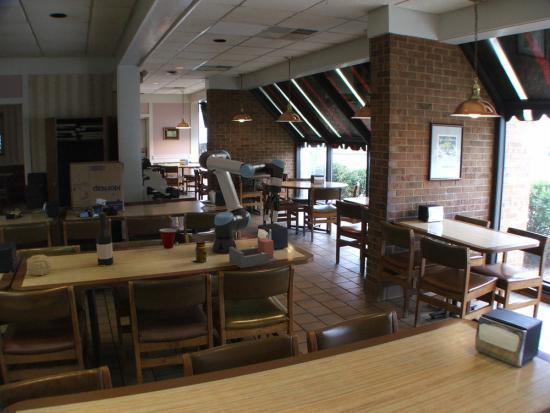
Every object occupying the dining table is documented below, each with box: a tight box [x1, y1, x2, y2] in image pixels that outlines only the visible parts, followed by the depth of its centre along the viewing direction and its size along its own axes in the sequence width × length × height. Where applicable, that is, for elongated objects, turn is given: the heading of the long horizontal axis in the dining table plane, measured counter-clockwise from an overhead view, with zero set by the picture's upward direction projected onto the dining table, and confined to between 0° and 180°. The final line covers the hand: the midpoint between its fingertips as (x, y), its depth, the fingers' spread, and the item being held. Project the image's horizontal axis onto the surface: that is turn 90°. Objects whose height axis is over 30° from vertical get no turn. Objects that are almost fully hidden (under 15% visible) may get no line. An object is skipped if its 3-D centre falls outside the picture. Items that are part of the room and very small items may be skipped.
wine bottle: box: [95, 211, 114, 266], centre depth 272 cm, size 8×8×30 cm
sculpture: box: [26, 254, 52, 276], centre depth 257 cm, size 11×12×11 cm
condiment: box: [190, 240, 210, 265], centre depth 278 cm, size 7×8×12 cm
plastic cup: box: [159, 228, 177, 250], centre depth 307 cm, size 11×11×12 cm
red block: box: [257, 237, 275, 258], centre depth 282 cm, size 8×7×10 cm
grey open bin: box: [228, 246, 279, 269], centre depth 279 cm, size 15×24×8 cm, turn 121°
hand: (270, 221), depth 283 cm, fingers open, 13 cm apart
